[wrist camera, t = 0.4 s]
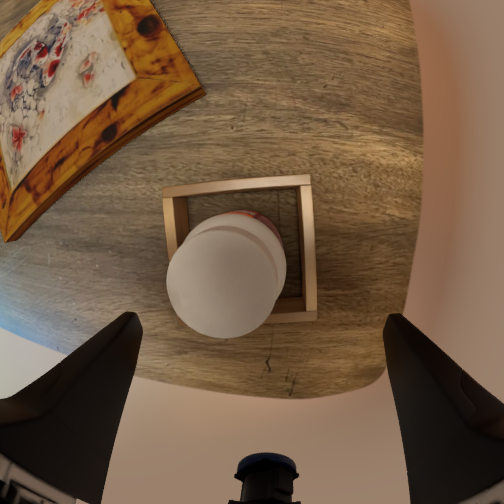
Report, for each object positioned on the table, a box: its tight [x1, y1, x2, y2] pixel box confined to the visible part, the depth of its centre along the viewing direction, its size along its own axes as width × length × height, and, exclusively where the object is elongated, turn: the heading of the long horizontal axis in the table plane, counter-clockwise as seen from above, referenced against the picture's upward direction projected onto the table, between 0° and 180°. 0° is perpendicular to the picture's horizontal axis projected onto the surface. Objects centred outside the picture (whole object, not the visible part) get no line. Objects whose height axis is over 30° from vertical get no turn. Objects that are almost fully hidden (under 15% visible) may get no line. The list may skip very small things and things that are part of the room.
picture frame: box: [0, 0, 206, 243], centre depth 21 cm, size 27×2×30 cm
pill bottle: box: [166, 210, 286, 339], centre depth 18 cm, size 6×6×11 cm
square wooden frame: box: [162, 174, 317, 326], centre depth 22 cm, size 11×11×4 cm
